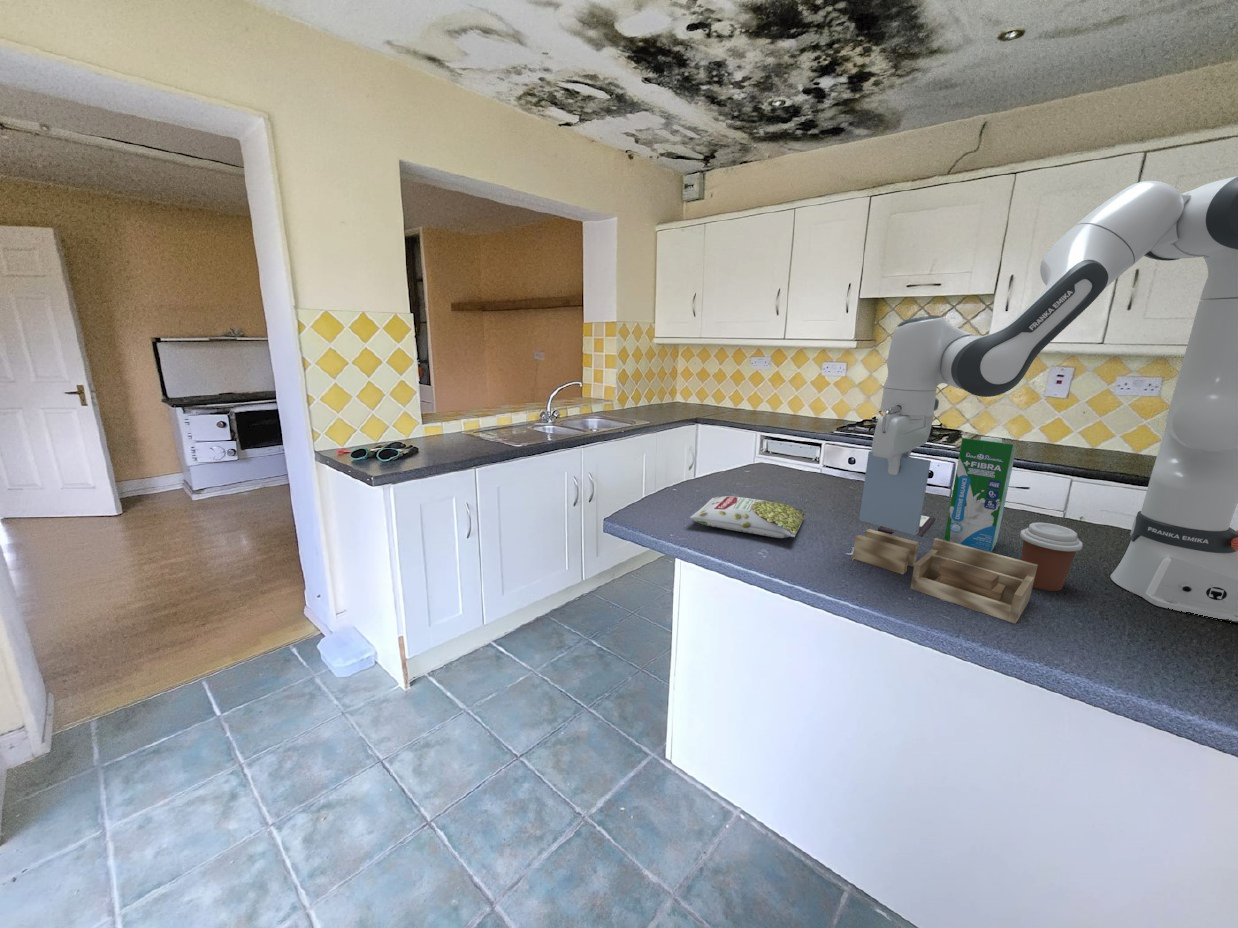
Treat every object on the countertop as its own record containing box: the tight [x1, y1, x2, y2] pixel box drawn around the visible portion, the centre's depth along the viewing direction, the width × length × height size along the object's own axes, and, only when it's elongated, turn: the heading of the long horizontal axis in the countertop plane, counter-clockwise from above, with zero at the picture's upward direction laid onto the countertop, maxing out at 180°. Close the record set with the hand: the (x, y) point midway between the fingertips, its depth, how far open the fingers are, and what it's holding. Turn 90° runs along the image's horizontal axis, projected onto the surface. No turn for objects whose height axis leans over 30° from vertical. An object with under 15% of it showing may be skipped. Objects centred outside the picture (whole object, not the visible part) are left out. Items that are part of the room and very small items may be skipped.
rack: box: [909, 537, 1038, 625], centre depth 92 cm, size 16×11×8 cm
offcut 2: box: [940, 575, 1006, 601], centre depth 91 cm, size 9×4×2 cm, turn 45°
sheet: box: [858, 449, 931, 536], centre depth 103 cm, size 11×2×15 cm, turn 43°
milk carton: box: [943, 436, 1017, 553], centre depth 115 cm, size 9×9×25 cm
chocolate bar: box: [877, 514, 936, 538], centre depth 129 cm, size 9×1×18 cm
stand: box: [851, 528, 920, 575], centre depth 106 cm, size 10×7×6 cm
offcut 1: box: [939, 559, 999, 591], centre depth 91 cm, size 8×4×2 cm, turn 40°
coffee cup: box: [1019, 522, 1084, 592], centre depth 96 cm, size 9×9×12 cm
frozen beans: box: [688, 495, 807, 539], centre depth 128 cm, size 21×6×25 cm
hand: (896, 472), depth 102 cm, fingers closed on sheet, 1 cm apart
